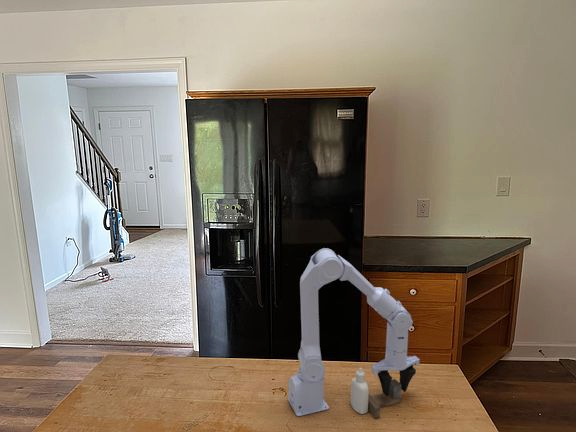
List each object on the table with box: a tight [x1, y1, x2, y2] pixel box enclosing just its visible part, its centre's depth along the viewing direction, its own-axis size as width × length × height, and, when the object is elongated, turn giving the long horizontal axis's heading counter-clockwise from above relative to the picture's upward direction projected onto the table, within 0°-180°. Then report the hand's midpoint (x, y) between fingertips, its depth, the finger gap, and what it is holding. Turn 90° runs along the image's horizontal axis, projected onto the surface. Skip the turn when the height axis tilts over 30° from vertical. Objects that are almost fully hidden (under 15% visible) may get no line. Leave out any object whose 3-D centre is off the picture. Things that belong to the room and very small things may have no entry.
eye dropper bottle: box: [350, 367, 370, 415], centre depth 105 cm, size 4×6×12 cm
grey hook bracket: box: [368, 378, 403, 419], centre depth 108 cm, size 11×11×5 cm
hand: (394, 391), depth 110 cm, fingers open, 5 cm apart
